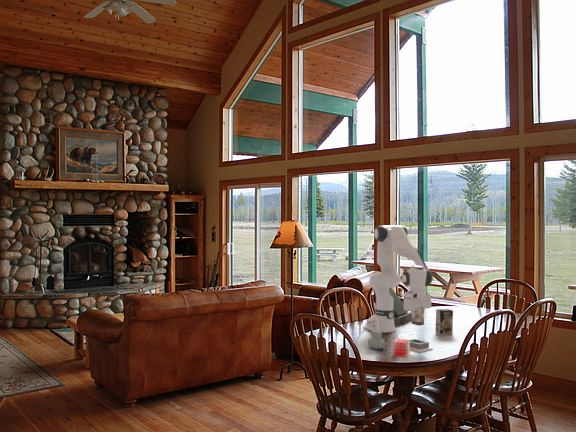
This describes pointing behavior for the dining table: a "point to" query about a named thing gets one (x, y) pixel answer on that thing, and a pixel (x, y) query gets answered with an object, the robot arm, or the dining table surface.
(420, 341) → the socket board
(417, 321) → the banded block
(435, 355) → the dining table surface
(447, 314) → the coffee box
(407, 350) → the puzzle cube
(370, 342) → the air freshener
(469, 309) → the dining table surface
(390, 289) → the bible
